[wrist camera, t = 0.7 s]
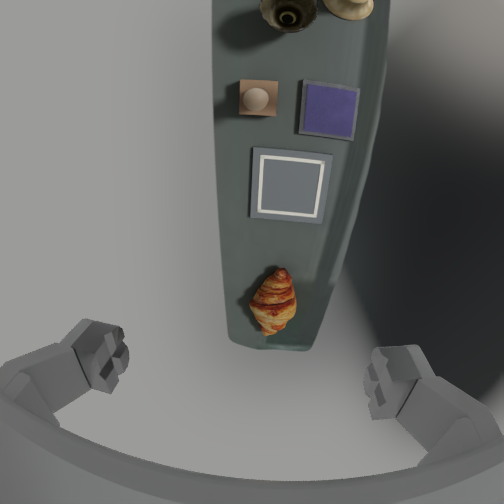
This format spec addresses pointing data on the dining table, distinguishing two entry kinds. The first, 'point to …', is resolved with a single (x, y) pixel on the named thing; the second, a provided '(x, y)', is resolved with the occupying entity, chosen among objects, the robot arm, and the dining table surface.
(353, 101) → the ink pad
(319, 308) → the dining table surface
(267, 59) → the dining table surface
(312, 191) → the board
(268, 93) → the stamp
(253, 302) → the croissant
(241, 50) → the dining table surface
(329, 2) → the hand bell
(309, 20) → the cup
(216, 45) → the dining table surface
